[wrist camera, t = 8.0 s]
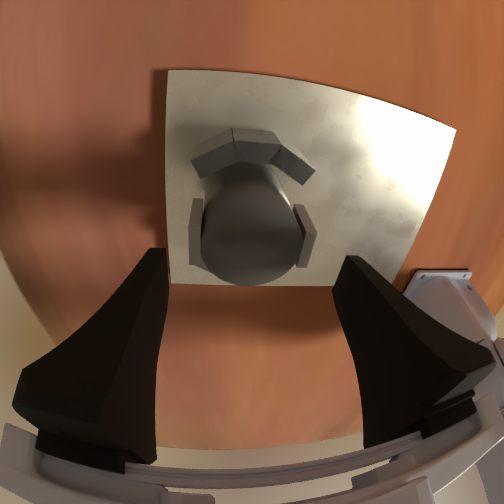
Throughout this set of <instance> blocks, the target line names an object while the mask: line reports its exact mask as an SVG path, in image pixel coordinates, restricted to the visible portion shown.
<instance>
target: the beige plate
mask: <svg viewBox="0 0 504 504" xmlns="http://www.w3.org/2000/svg"><path fill="white" fill-rule="evenodd" d="M454 134H455V130H454V129H452V128H450V127H448V126H446V125H444V124H442V123H439V122H437V121H435V120H432V119H430V118H428V117H425V116H423V115H420V114H418V113H415V112H412V111H410V110H407V109H404V108H402V107H399V106H396V105H393V104H390V103H387V102H384V101H381V100H378V99H374V98H371V97H368V96H364V95H361V94H357V93H354V92H350V91H346V90H342V89H338V88H334V87H330V86H325V85H321V84H316V83H311V82H306V81H301V80H295V79H289V78H283V77H276V76H269V75H261V74H252V73H242V72H230V71H213V70H168V81H167V99H166V126H165V186H166V215H167V234H168V249H169V262H170V274H171V283H178V284H206V285H235V284H231V283H228V282H225V281H223V280H221V279H219V278H218V277H216V276H215V275H214V274H213V273H211V272H210V270H209V269H208V268H207V267H206V265H205V263H204V261H203V259H202V256H201V261H200V265H189V242H188V226H189V219H190V213H191V207H192V201H193V198H203V199H204V200H205V190H206V186H207V184H208V181H209V179H210V178H211V176H212V175H213V174H214V173H215V172H216V171H218V170H220V169H222V168H225V167H227V166H229V165H231V164H234V163H236V162H248V163H260V164H264V165H265V166H267V167H268V168H270V169H271V170H272V171H273V172H274V173H275V175H276V176H277V178H278V180H279V182H280V184H281V186H282V188H283V191H284V193H285V195H286V197H287V200H288V202H289V204H290V206H291V209H292V210H293V205H294V204H302V205H304V207H305V209H306V211H307V213H308V215H309V217H310V219H311V221H312V223H313V225H314V227H315V229H316V231H317V236H316V240H315V243H314V246H313V250H312V253H311V256H310V259H309V263H308V266H307V268H297V267H296V264H295V265H294V266H293V267H292V268H291V269H290V270H289V271H288V272H287V273H285V274H284V275H283V276H281V277H279V278H278V279H276V280H274V281H271V282H268V283H265V284H261V285H255V286H334V284H335V282H336V279H337V277H338V274H339V272H340V269H341V267H342V264H343V262H344V259H345V257H346V255H358V256H360V257H361V258H363V259H364V260H365V261H366V262H367V263H369V264H370V265H371V266H372V267H373V268H374V269H375V270H376V271H378V272H379V273H380V274H381V275H382V276H383V277H384V278H385V279H386V280H387V281H388V282H390V283H391V284H392V283H393V281H394V279H395V277H396V276H397V274H398V272H399V270H400V268H401V266H402V264H403V262H404V260H405V258H406V256H407V254H408V252H409V250H410V248H411V246H412V244H413V242H414V239H415V237H416V235H417V233H418V231H419V229H420V226H421V224H422V222H423V220H424V217H425V215H426V213H427V210H428V208H429V205H430V203H431V200H432V198H433V195H434V193H435V190H436V188H437V185H438V182H439V180H440V177H441V174H442V171H443V168H444V166H445V163H446V160H447V157H448V154H449V150H450V147H451V144H452V141H453V137H454ZM204 200H203V210H204Z"/></svg>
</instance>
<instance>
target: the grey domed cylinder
mask: <svg viewBox="0 0 504 504" xmlns="http://www.w3.org/2000/svg"><path fill="white" fill-rule="evenodd" d="M203 200H204V199H203V198H193V201H192V207H191V213H190V219H189V226H188V242H189V265H200V261H201V256H202V259H203V261H204V263H205V265H206V267H207V268H208V269H209V270H210V272H211V273H213V274H214V275H215V276H216V277H218V278H219V279H221V280H223V281H225V282H228V283H231V284H235V285H240V286H255V285H261V284H265V283H268V282H271V281H274V280H276V279H278V278H279V277H281V276H283V275H284V274H285V273H287V272H288V271H289V270H290V269H291V268H292V267H293V266H294V265H295V264H296V267H297V268H307V266H308V263H309V259H310V256H311V253H312V250H313V246H314V243H315V240H316V236H317V231H316V229H315V227H314V225H313V223H312V221H311V219H310V217H309V215H308V213H307V211H306V209H305V207H304V205H302V204H294V205H293V210H292V209H291V206H290V204H289V202H288V200H287V197H286V195H285V193H284V191H283V188H282V186H281V184H280V182H279V180H278V178H277V176H276V175H275V173H274V172H273V171H272V170H271V169H270V168H268V167H267V166H265V165H264V164H260V163H248V162H236V163H234V164H231V165H229V166H227V167H225V168H222V169H220V170H218V171H216V172H215V173H214V174H213V175H212V176H211V178H210V179H209V181H208V184H207V186H206V190H205V200H204V210H203Z"/></svg>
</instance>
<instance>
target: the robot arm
mask: <svg viewBox="0 0 504 504" xmlns="http://www.w3.org/2000/svg"><path fill="white" fill-rule="evenodd" d="M471 275H472V272H471V270H420V271H417V272H416V273H415V274H414V276H413V278H412V279H411V281H410V283H409V285H408V286H407V288H406V290H405V292H404V293H403V294H402V293H401V292H400V291H398V290H397V289H396V288H395V287H394V286H393V285H392V284H391V283H390V282H388V281H387V280H386V279H385V278H384V277H383V276H382V275H381V274H380V273H379V272H378V271H376V270H375V269H374V268H373V267H372V266H371V265H370V264H369V263H367V262H366V261H365V260H364V259H363V258H361V257H360V256H358V255H346V257H345V259H344V262H343V264H342V267H341V269H340V272H339V274H338V277H337V279H336V282H335V284H334V287H333V289H332V293H333V298H334V303H335V307H336V311H337V314H338V317H339V320H340V322H341V325H342V328H343V331H344V333H345V336H346V339H347V342H348V345H349V347H350V350H351V353H352V356H353V360H354V363H355V368H356V373H357V378H358V383H359V389H360V396H361V404H362V414H363V434H364V435H363V436H364V437H363V438H364V439H363V441H364V442H363V446H364V449H363V450H359V451H355V452H352V453H348V454H343V455H339V456H334V457H330V458H325V459H320V460H315V461H309V462H303V463H297V464H289V465H281V466H272V467H261V468H249V469H220V470H218V469H215V470H213V469H211V470H210V469H209V470H207V469H182V468H168V467H157V466H148V465H150V464H152V463H153V462H154V461H155V460H156V459H157V455H156V436H155V389H156V370H157V361H158V355H159V349H160V344H161V339H162V334H163V329H164V324H165V319H166V314H167V306H168V296H169V280H168V270H167V259H166V248H149V249H148V250H147V252H146V253H145V254H144V256H143V257H142V258H141V260H140V261H139V263H138V264H137V265H136V266H135V268H134V269H133V270H132V272H131V273H130V274H129V275H128V277H127V278H126V279H125V280H124V282H123V283H122V284H121V285H120V287H119V288H118V289H117V290H116V291H115V292H114V294H113V295H112V296H111V297H110V298H109V299H108V300H107V302H106V303H105V304H104V305H103V306H102V307H101V308H100V309H99V310H98V311H97V312H96V313H95V314H94V315H93V316H92V317H91V318H90V319H89V320H88V321H87V322H86V323H85V324H84V325H82V326H81V327H80V328H79V329H78V330H77V331H76V332H75V333H73V334H72V335H71V336H70V337H69V338H67V339H66V340H65V341H63V342H62V343H61V344H60V345H58V346H57V347H56V348H54V349H53V350H52V351H50V352H49V353H47V354H46V355H44V356H43V357H41V358H40V359H38V360H36V361H35V362H33V363H32V364H30V365H28V366H27V367H25V368H24V369H22V372H21V375H20V378H19V380H18V384H17V387H16V391H15V395H14V398H13V402H12V406H13V408H14V410H15V411H16V412H17V413H18V414H19V415H20V416H22V417H23V418H24V419H26V420H27V421H29V422H30V423H31V424H33V425H34V426H35V427H37V428H38V429H39V430H38V436H36V435H34V434H32V433H30V432H28V431H25V430H23V429H20V428H18V427H16V426H13V425H11V424H9V423H5V425H4V431H3V436H2V441H1V447H0V486H2V487H3V488H5V489H7V490H9V491H10V492H12V493H14V494H16V495H18V496H20V497H22V498H24V499H25V500H27V501H29V502H31V503H34V504H215V498H214V497H213V496H212V495H210V494H191V493H180V492H169V491H168V490H167V489H166V488H165V487H175V488H176V487H177V488H192V489H193V488H194V489H236V488H253V487H265V486H273V485H282V484H290V483H295V482H302V481H308V480H313V479H318V478H323V477H328V476H332V475H336V474H340V473H344V472H348V471H352V470H355V469H359V468H362V467H366V466H369V465H372V464H375V463H378V462H381V461H384V460H387V459H390V458H391V460H390V461H389V463H388V464H386V465H383V466H380V467H378V468H375V469H373V470H371V471H368V472H366V473H363V474H360V475H357V476H354V477H352V478H351V481H352V485H353V488H352V489H350V490H346V491H342V492H339V493H334V494H331V495H326V496H322V497H317V498H312V499H307V500H301V501H296V502H289V503H282V504H435V502H434V498H433V495H435V494H436V493H438V492H439V491H440V490H442V489H443V488H445V487H446V486H447V485H449V484H450V483H451V482H453V481H454V480H455V479H456V478H458V477H459V476H460V475H462V473H464V472H465V471H466V470H468V469H469V468H470V467H471V466H472V465H473V464H476V465H477V468H478V471H479V473H480V477H481V479H482V482H483V485H484V488H485V492H486V495H487V498H488V502H489V504H504V410H503V411H501V410H502V409H504V338H501V339H500V338H499V337H498V338H497V339H496V336H497V324H496V320H495V317H494V315H493V313H492V312H491V310H490V309H489V307H488V306H487V304H486V303H485V301H484V300H483V298H482V297H481V295H480V294H479V293H478V291H477V290H476V288H475V287H474V286H473V284H472V283H471V282H470V280H469V279H470V277H471ZM500 411H501V412H500ZM141 464H145V465H141ZM146 464H147V465H146ZM163 486H164V487H163Z"/></svg>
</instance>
